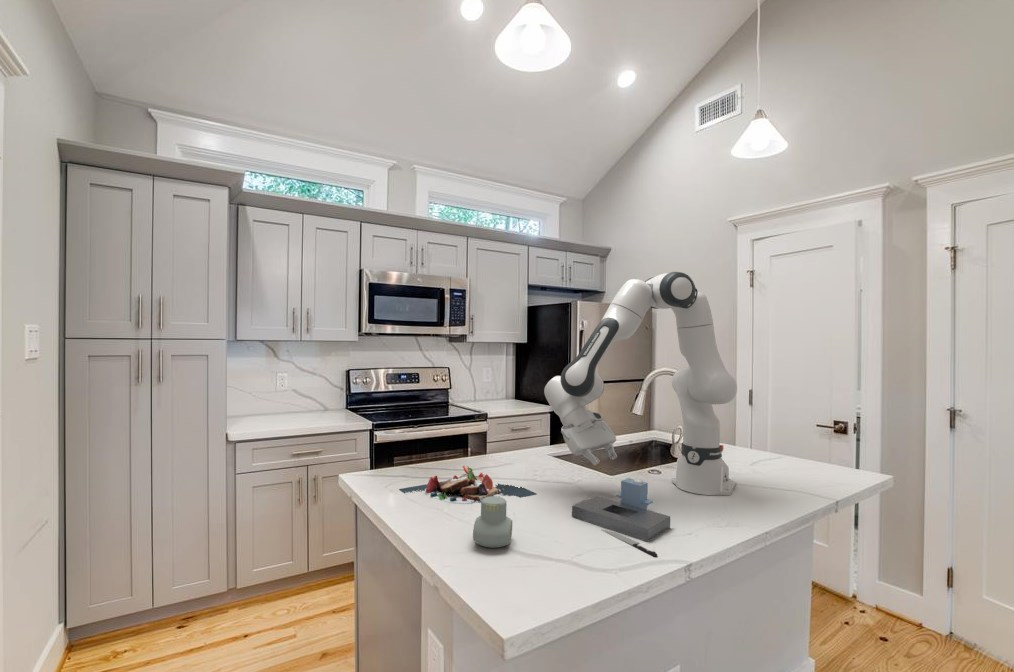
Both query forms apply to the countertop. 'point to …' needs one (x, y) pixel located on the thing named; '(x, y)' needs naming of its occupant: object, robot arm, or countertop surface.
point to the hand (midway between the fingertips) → (606, 461)
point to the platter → (467, 488)
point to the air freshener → (493, 523)
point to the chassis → (622, 517)
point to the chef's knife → (630, 542)
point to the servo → (634, 493)
